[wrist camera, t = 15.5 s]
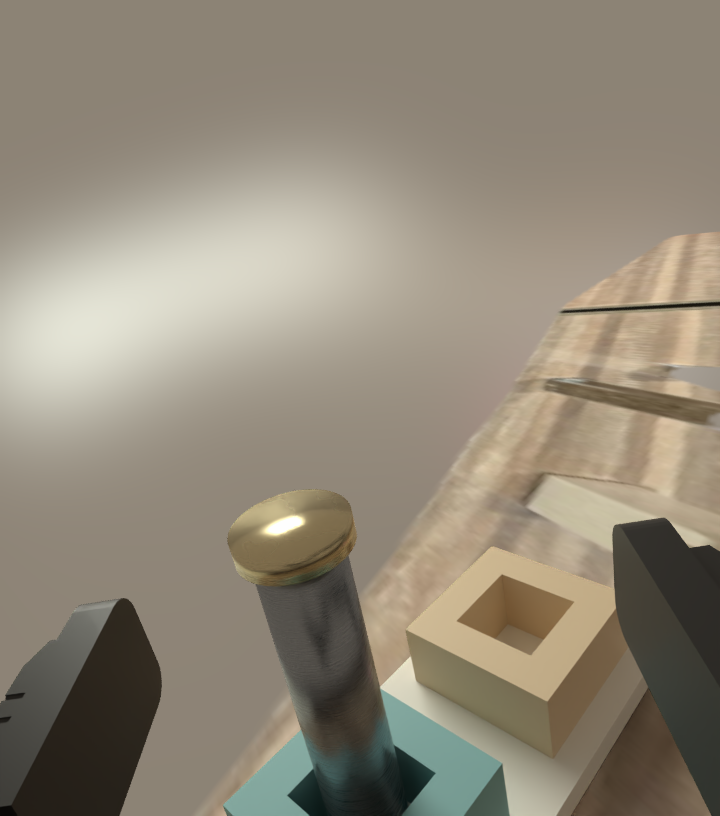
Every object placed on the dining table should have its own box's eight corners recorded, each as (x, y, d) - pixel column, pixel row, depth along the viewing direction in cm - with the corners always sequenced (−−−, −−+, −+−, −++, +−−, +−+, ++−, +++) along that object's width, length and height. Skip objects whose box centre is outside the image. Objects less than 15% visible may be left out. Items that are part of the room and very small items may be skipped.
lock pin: (374, 779, 33) (296, 479, 26) (446, 832, 30) (377, 507, 23) (310, 852, 30) (203, 537, 24) (380, 920, 27) (281, 578, 20)
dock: (489, 595, 46) (481, 531, 44) (661, 665, 38) (661, 592, 36) (202, 895, 31) (167, 820, 29) (385, 1122, 23) (356, 1041, 21)
